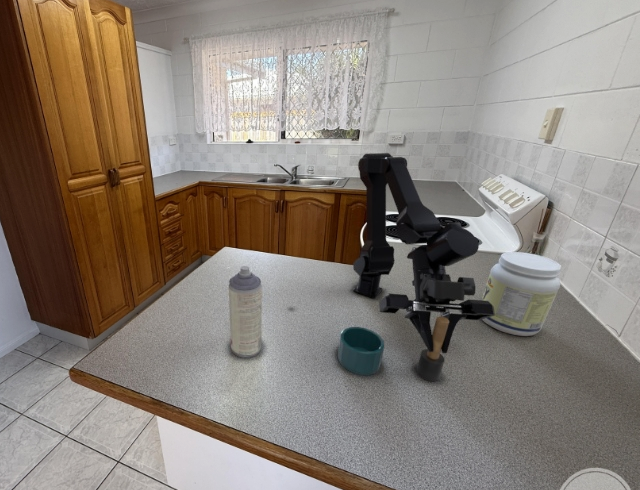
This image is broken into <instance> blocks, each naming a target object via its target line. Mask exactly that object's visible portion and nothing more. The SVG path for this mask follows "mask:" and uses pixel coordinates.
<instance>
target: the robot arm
mask: <svg viewBox="0 0 640 490" xmlns="http://www.w3.org/2000/svg"><path fill="white" fill-rule="evenodd" d="M357 167H358V171H359V179H360V181H361V182H362V184H363V185H364V187H365V189H366V191H365V193H366V197H365V198H366V199H365V201H366V202H365V203H366V240H365V242H364V243H363V245H362V246H361V248H360V252H359V253H360V254H359V257H358V258H357V259H356V260H354V261H353V262H352V263H353V265H352V266H353V267H352V268H353V271H354V272H355V273H356V274H357V275H358V282H357V285H356V286H355V287H354V288H353V290H352V291H353V293H357V294H359V295H362V296H366V297H369V298H372V299H377V298H378V296H379V294H381V293H382V291H383V288H382V287H380V284H381V277H382V276H387V275H388V276H389V275H390V273H391V271H392V269H393V267H394V265H395V248H394V246H393V245H390V243H389V241H388V240H387V186H388V188H389V191H390V193H391V196H392V199H393V201H394V205H395V207H396V210H397V214H398V216H397V219H396V222H395V226H396V230H397V236H398V238H399V240H400V241H401V243H402V244H406V245H419V246H417V247H415V246H414V247H412V249H411V251H409V253H408V254H407V255H406V259H408V260H411V261H412V273H413V280H411V283H412V287H414V295H415V296H414V297H415V299H412V300H411V299H409V297H408V295H407V294H401V293H400V294H399V293H390V292H389V293H387V294H386V295H384V296H383V297H382V298H381V299H380V300H379V304H378V305H379V306H378V307H379V312H380V313H384V314H394V315H395V314H396V313H397V312H399V311H400V310H405V312H406V314H405V315H404V319H407V320H409V321H410V322H411V324H412V325H413V327H414V329H416V331H417V333H418V334H419V336H420V338H421V339H422V341H423V344H424V345H425V347H426V349H428V351H429V352H433V339H432V333H433V332H432V327H431V316H432V315H431V314H432V312H433V313H440V317H445V318H447V319H448V320H449V324H448V328H447V331H446V335H445V338H444V341H443V345H442V348H441V354H447V353H448V350H449V347H450V344H451V340H452V337H453V334H454V330H455V328H456V326H457V324H458V323H459V322H460V321H462V320H464V321H465V320H466V321H483V320H482V319H485V318H488V317H491V316H495V311H494V307H493V305H492V304H491V303H490V302H489V301H483V300H481V299H470V298H468V299H466V300H465V296H475V294H476V290H477V289H476V282H475V279H474V277H466V276H465V277H464V276H463V277H462V276H459V277H458V278H457V281H452V279H451V276H450V274H448V273H447V270H446V267H450V266H452V265H455V264H457V263H459V262H461V261H463V260H465V259H468V258H470V257H472V256H473V255H475V254H476V253H478V251H479V248H480V244H479V240H478V238H477V237H476V236H475V235H474V234H473V233H472V232H471V231H470V230H468V229H467V228H463V227H462V225H461V222H449V223H447V224H446V225H444V226H443V225H442V224H441V223H440V220H438V218H437V216H436V215H435V213H434V212H433V210H431V209H429V208H428V207H427V206H425V205H424V204H423V202H422V200H421V198H420V195H419V193H418V190H417V188H416V186H415V183H414V181H413V179H412V178H413V177H412V175H411V174H410V171H409V169H408V160H407V159H406V158H405V157H402V156H393V155H391V153H389V152H373V153H369V152H368V153H364V155H363V156H362V157H361V158H359V160H358V164H357ZM456 301H460V303H459V302H458V303H453V302H456ZM461 301H462V302H461ZM451 302H452V303H451Z"/></svg>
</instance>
